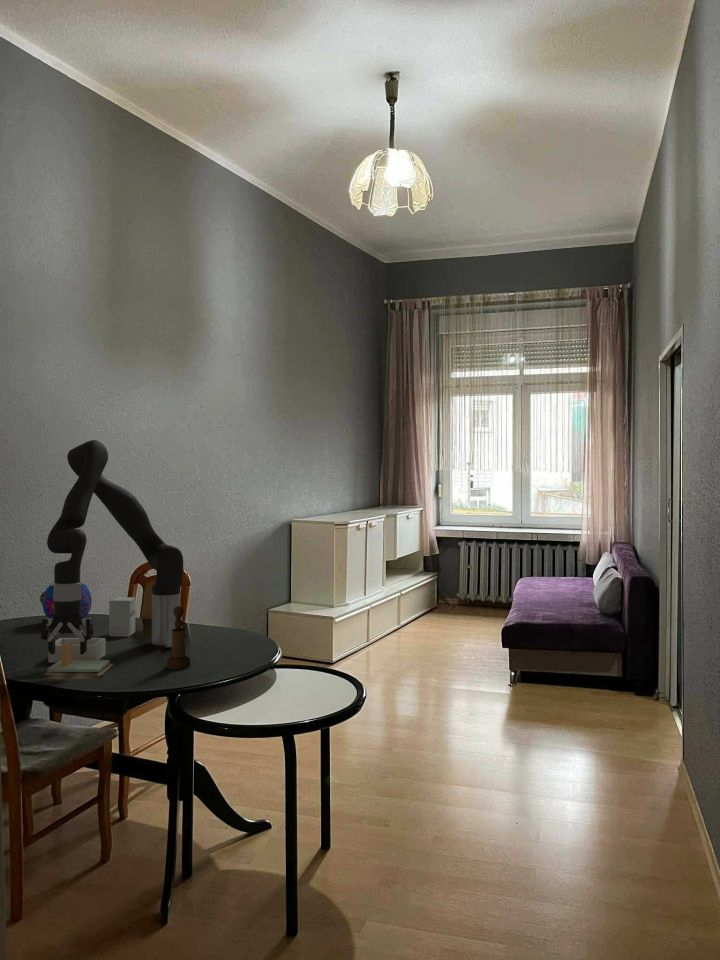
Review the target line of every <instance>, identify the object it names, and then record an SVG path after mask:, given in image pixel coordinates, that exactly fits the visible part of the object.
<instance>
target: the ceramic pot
mask: <svg viewBox="0 0 720 960" xmlns="http://www.w3.org/2000/svg"><path fill="white" fill-rule="evenodd" d="M80 586H81V617H82V619H86V618H87V616H88V615H89V613H90V611H91V609H92V603H93V602H92V595H91V592H90V588H89V587H88V586H87V585H86V584H85V583H84V582H81V581H80ZM53 592H54V582H52V584H50V585H49V586H48V587H46V589H45V591H43V592H42V593H41V595H39V596H40V597H39V601H40V603H41V606H42V610H43V613H44V615H45V616H46V618H47V617H48V618H50V619H53V617H54V601H53Z"/></svg>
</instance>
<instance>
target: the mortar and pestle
mask: <svg viewBox="0 0 720 960" xmlns="http://www.w3.org/2000/svg"><path fill="white" fill-rule="evenodd" d="M184 612H185V611H184V608H183V607H182V606H181V605H180V606H178V607H175V608H174V610H173V613H174V615H175V617H176V621H175V627H176V629H173V630H172V647H171V655H170V656H169V658H167V659H166V662H167V663H166V667H168V668H167V669H169V668H171V670H180V669H179V668H185V669H187V668H186V667H188V668H190V667H191V658H190V657H188V655H186V629H185V628H184V627H183V620H182V621H181V617H182V618H183V615H184ZM181 626H182V628H181ZM189 666H190V667H189Z"/></svg>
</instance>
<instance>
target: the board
mask: <svg viewBox="0 0 720 960" xmlns="http://www.w3.org/2000/svg"><path fill="white" fill-rule="evenodd" d="M113 666H114V663H108V664H107V665H106V666H105V667H104V668H102V669H101V670H100V671H99V672H47V671H46V673H44V674H43V679H44V680H45V679H46V680H48V679H52V680H53V679H55V680H57V679H61V680H62V679H63V680H64V679H67V680H68V679H70V680H73V679H75V680H77V679H79V680H80V679H81V680H82V679H83V680H84V679H85V680H86V679H87V680H89V679H90V680H91V679H93V680H97V679H99V680H100V679H102V678H103V677H104V675H103V674H104V673H105V672H107V670H109V668H111V667H113Z"/></svg>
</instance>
